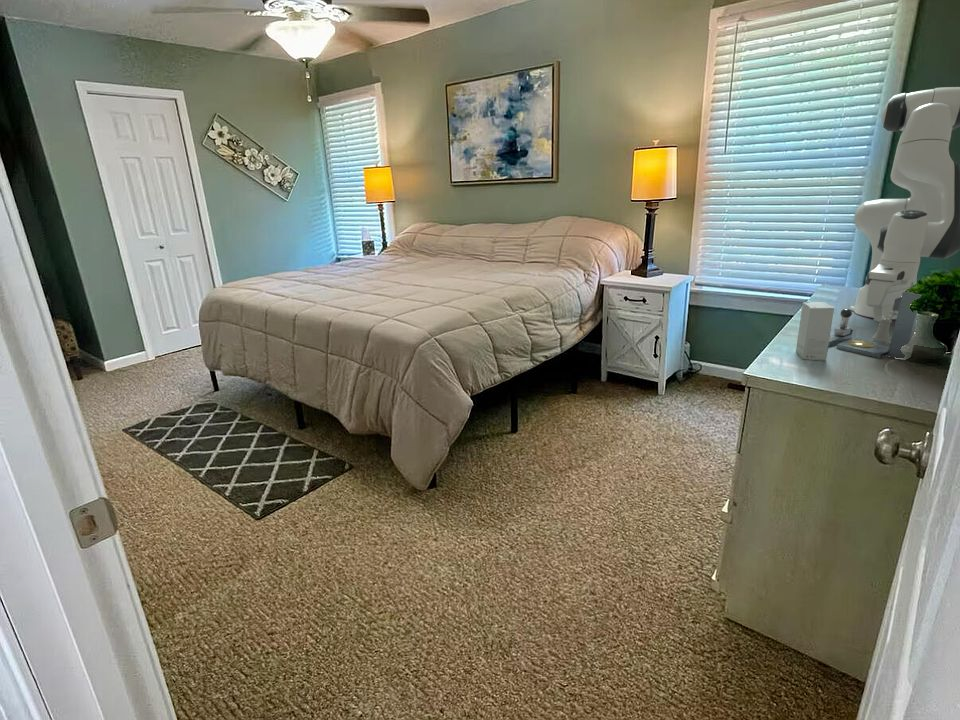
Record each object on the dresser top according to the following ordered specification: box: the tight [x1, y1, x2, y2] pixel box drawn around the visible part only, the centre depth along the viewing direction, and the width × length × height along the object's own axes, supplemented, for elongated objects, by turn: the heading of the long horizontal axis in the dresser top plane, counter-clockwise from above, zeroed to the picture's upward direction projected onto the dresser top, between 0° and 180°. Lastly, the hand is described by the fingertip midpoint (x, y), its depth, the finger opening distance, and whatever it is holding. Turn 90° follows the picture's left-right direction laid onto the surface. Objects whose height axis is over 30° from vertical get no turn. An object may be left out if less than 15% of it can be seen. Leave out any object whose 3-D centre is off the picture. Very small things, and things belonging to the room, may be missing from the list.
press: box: [828, 291, 922, 359], centre depth 143 cm, size 15×20×18 cm
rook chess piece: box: [870, 316, 893, 345], centre depth 149 cm, size 4×4×8 cm
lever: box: [833, 308, 853, 336], centre depth 153 cm, size 4×3×8 cm
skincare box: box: [795, 301, 835, 362], centre depth 141 cm, size 8×6×15 cm
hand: (886, 318), depth 147 cm, fingers open, 8 cm apart
